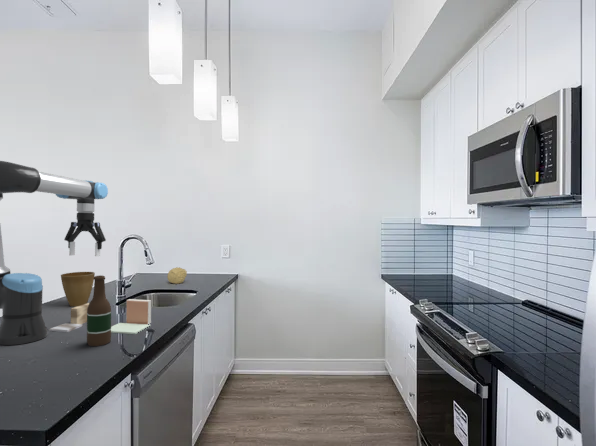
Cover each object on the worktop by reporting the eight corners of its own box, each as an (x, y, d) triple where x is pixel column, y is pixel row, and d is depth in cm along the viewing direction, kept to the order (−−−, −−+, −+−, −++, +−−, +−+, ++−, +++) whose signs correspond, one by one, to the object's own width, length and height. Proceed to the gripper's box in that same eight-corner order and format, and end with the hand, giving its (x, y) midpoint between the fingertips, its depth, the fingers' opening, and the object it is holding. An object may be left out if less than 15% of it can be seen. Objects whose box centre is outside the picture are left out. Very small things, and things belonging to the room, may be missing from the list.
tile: (147, 325, 155) (148, 301, 155) (125, 323, 157) (126, 300, 157) (150, 323, 158) (151, 300, 158) (129, 322, 159) (129, 299, 159)
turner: (67, 332, 144) (67, 314, 144) (49, 330, 146) (49, 313, 146) (101, 318, 164) (102, 302, 164) (85, 317, 165) (85, 301, 165)
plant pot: (83, 300, 198) (83, 270, 198) (100, 304, 191) (101, 273, 191) (53, 306, 185) (54, 274, 185) (71, 310, 178) (71, 276, 178)
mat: (135, 334, 143) (135, 332, 143) (102, 332, 145) (102, 330, 145) (150, 326, 154) (150, 324, 154) (119, 324, 156) (119, 322, 156)
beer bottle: (83, 347, 128) (84, 278, 128) (89, 340, 135) (90, 274, 135) (108, 345, 130) (109, 277, 130) (113, 338, 138) (113, 274, 137)
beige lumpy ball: (175, 285, 248) (176, 269, 248) (163, 283, 254) (164, 267, 254) (189, 282, 257) (189, 267, 257) (177, 280, 264) (177, 265, 264)
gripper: (114, 213, 184) (113, 255, 184) (68, 212, 187) (67, 254, 187) (104, 212, 176) (103, 257, 176) (56, 211, 180) (55, 255, 180)
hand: (84, 255), depth 182 cm, fingers open, 13 cm apart
